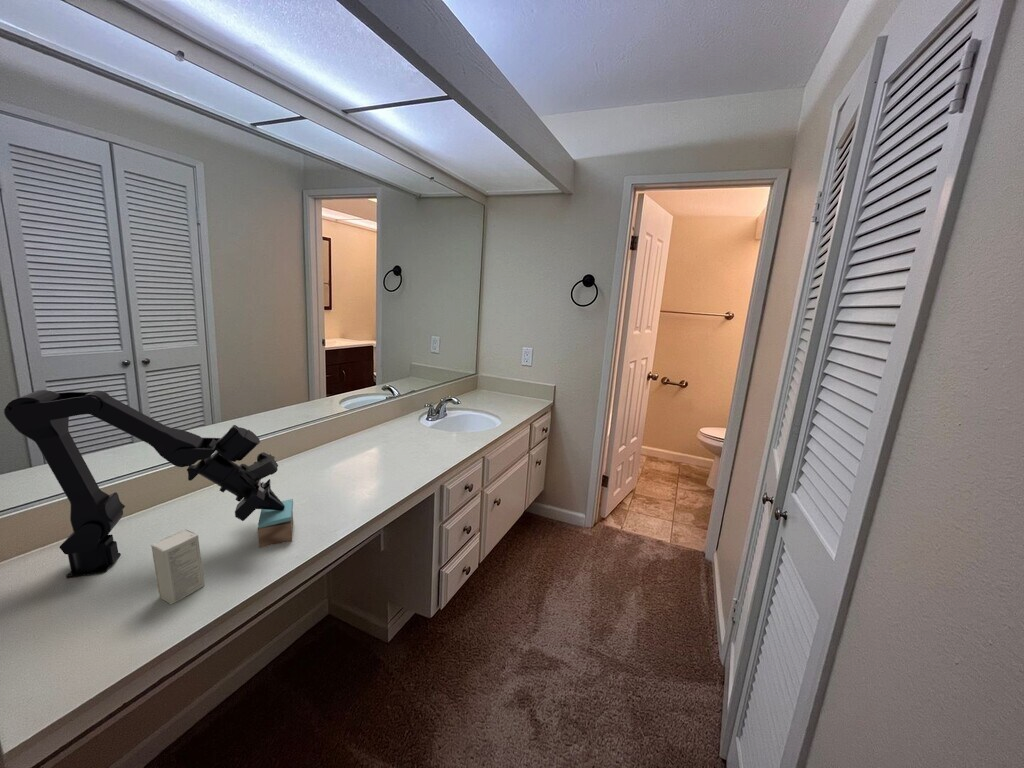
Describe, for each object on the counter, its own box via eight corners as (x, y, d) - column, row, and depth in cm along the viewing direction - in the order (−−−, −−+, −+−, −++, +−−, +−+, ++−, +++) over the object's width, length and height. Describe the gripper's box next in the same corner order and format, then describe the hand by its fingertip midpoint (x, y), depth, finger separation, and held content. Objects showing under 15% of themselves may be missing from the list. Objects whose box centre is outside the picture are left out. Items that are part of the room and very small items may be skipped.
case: (259, 547, 98) (257, 528, 97) (262, 527, 106) (261, 510, 104) (291, 541, 101) (290, 523, 100) (293, 522, 109) (292, 505, 108)
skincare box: (192, 579, 86) (186, 528, 84) (205, 586, 84) (199, 534, 82) (157, 598, 81) (149, 544, 78) (170, 606, 79) (162, 551, 76)
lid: (258, 528, 96) (257, 524, 96) (262, 509, 105) (262, 505, 104) (291, 520, 99) (291, 516, 99) (293, 502, 108) (292, 498, 107)
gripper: (248, 464, 88) (307, 501, 96) (258, 435, 105) (307, 469, 112) (207, 503, 87) (270, 538, 94) (224, 468, 103) (276, 500, 110)
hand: (283, 508), depth 102 cm, fingers closed, pressing on lid
